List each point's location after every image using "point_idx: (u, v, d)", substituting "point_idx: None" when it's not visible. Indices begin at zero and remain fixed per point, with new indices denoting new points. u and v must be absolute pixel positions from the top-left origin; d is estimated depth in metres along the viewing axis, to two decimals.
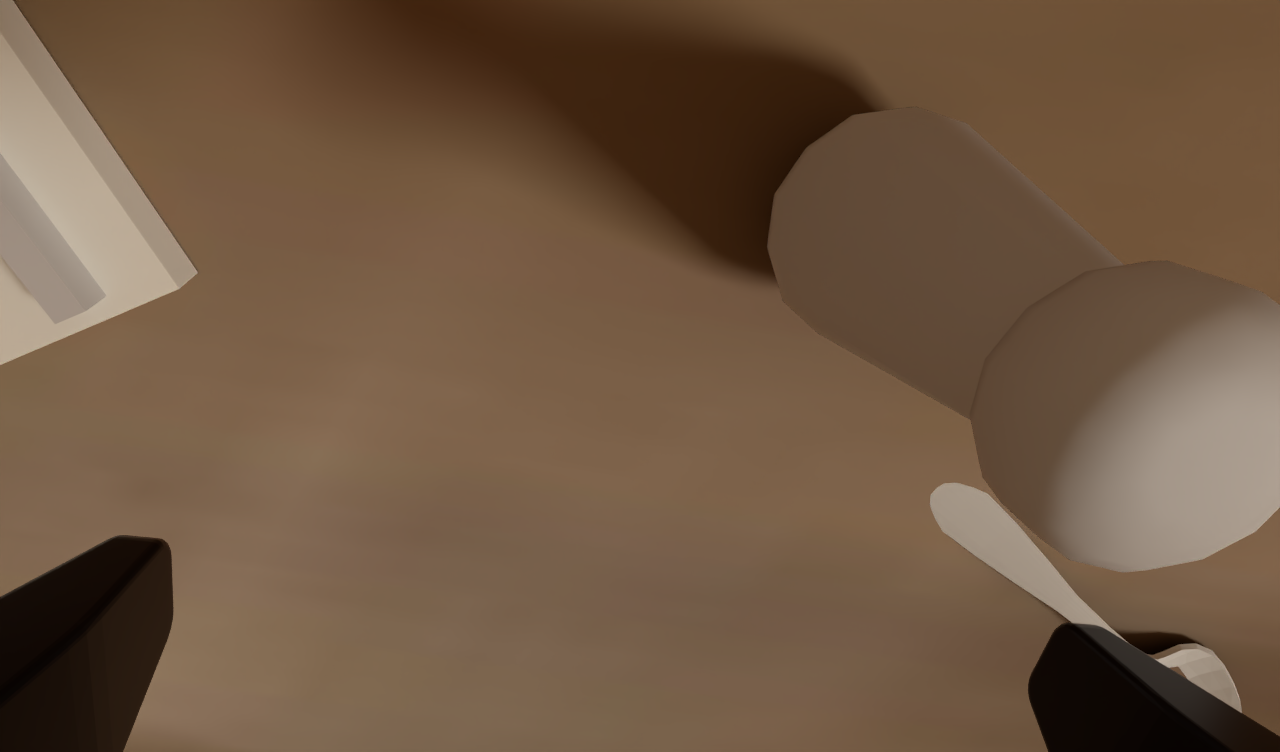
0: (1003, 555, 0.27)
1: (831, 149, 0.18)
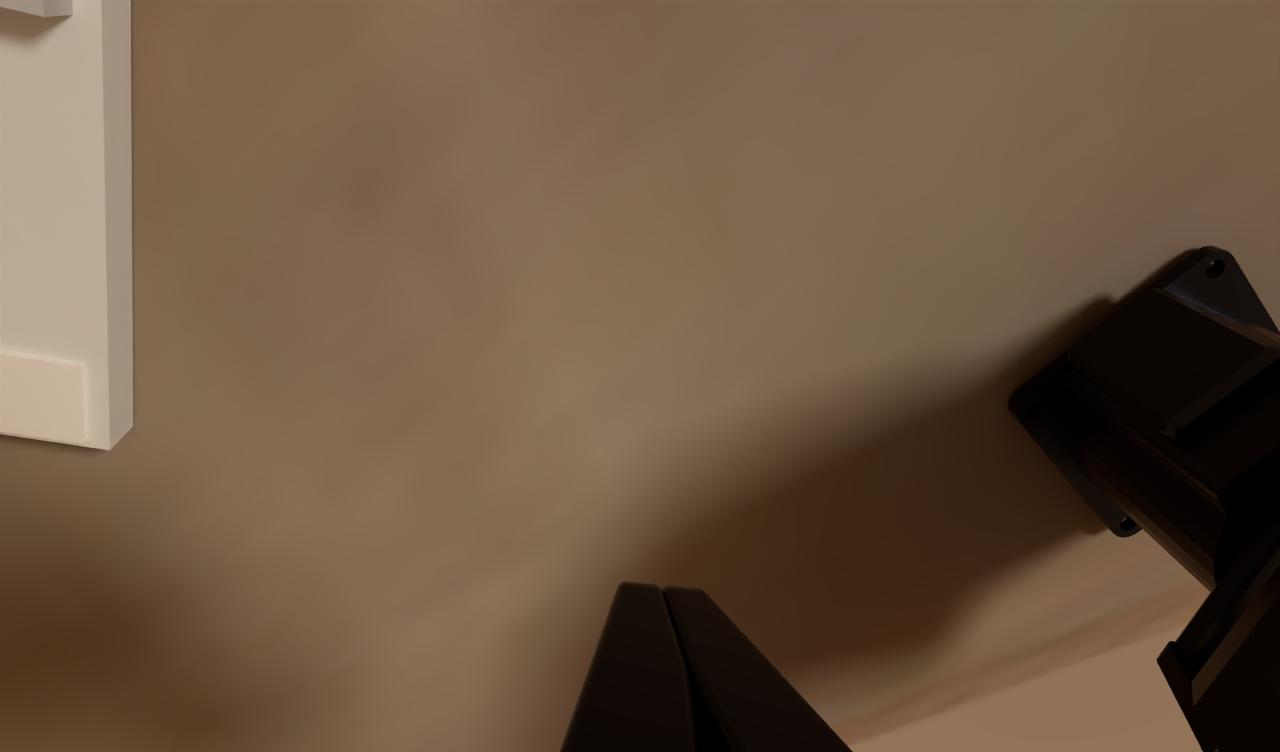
0: None
1: None
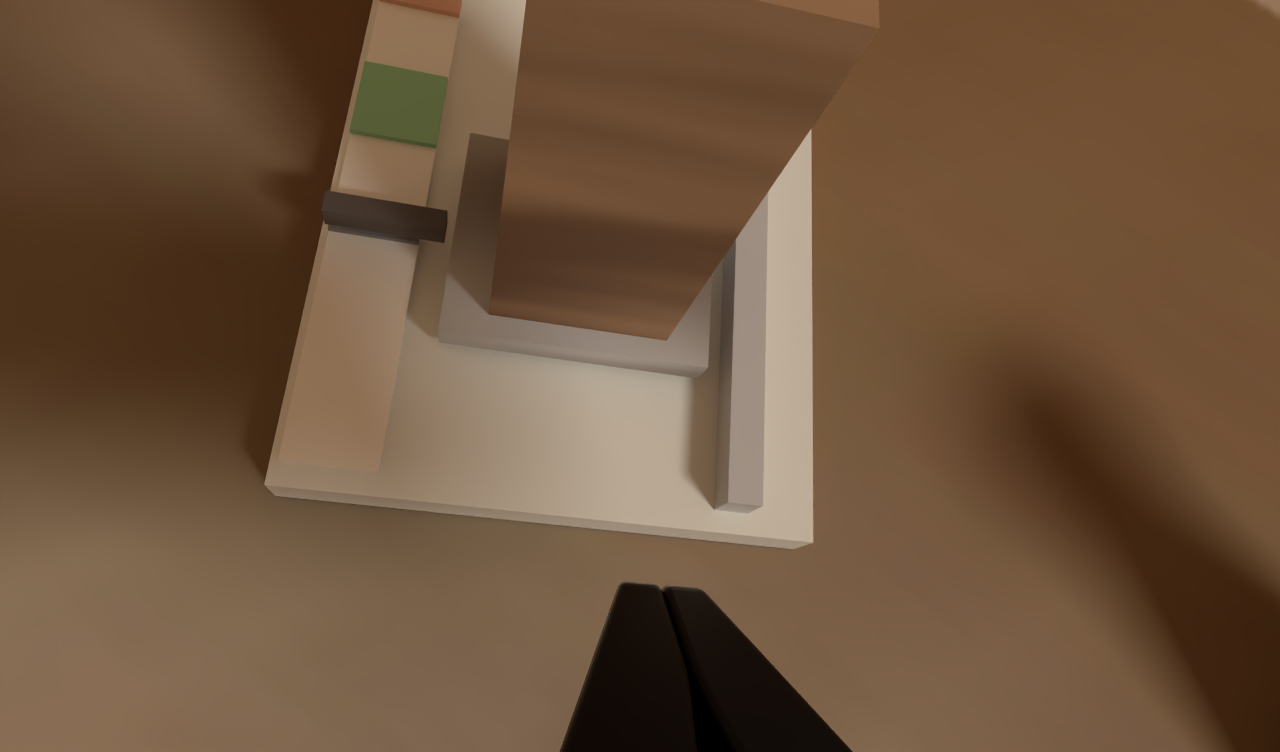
0: None
1: None
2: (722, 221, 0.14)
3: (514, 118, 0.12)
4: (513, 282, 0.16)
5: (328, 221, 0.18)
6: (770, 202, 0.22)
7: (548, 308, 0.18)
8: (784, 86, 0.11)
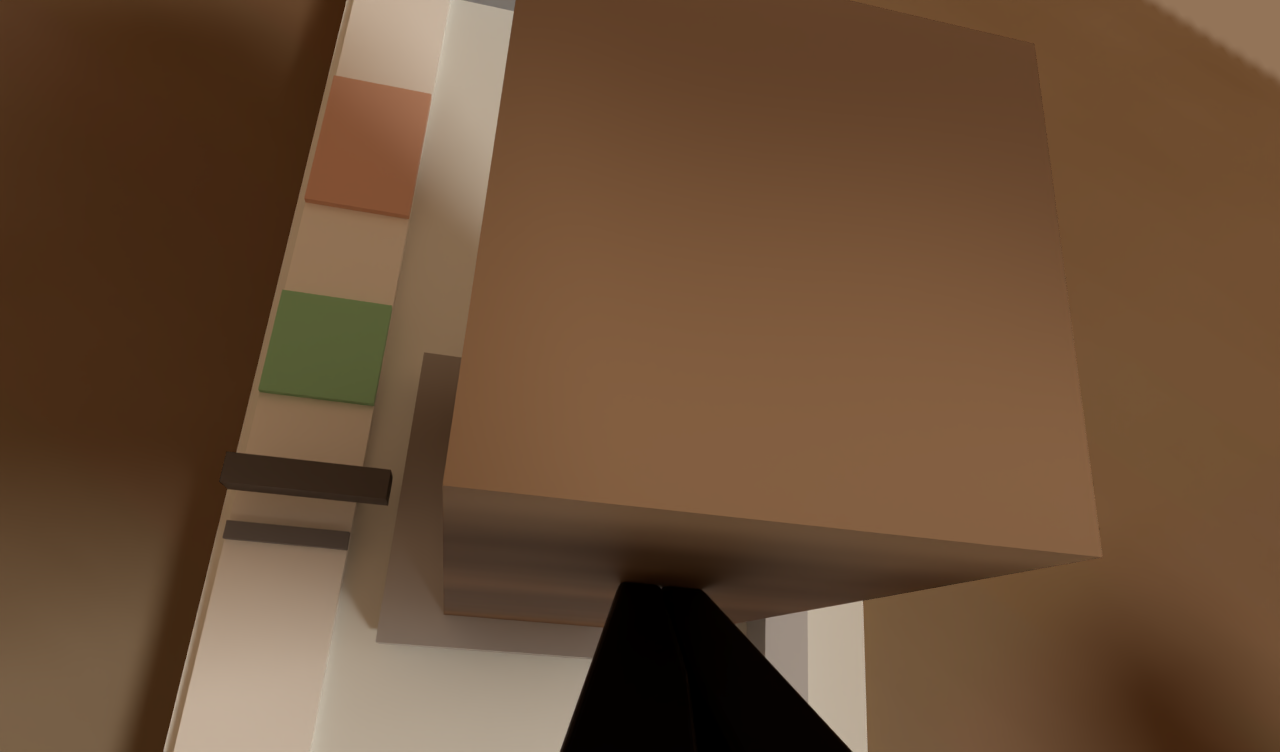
0: None
1: None
2: (769, 608, 0.09)
3: (447, 560, 0.07)
4: (471, 608, 0.12)
5: (233, 486, 0.14)
6: None
7: (523, 617, 0.13)
8: (902, 570, 0.06)
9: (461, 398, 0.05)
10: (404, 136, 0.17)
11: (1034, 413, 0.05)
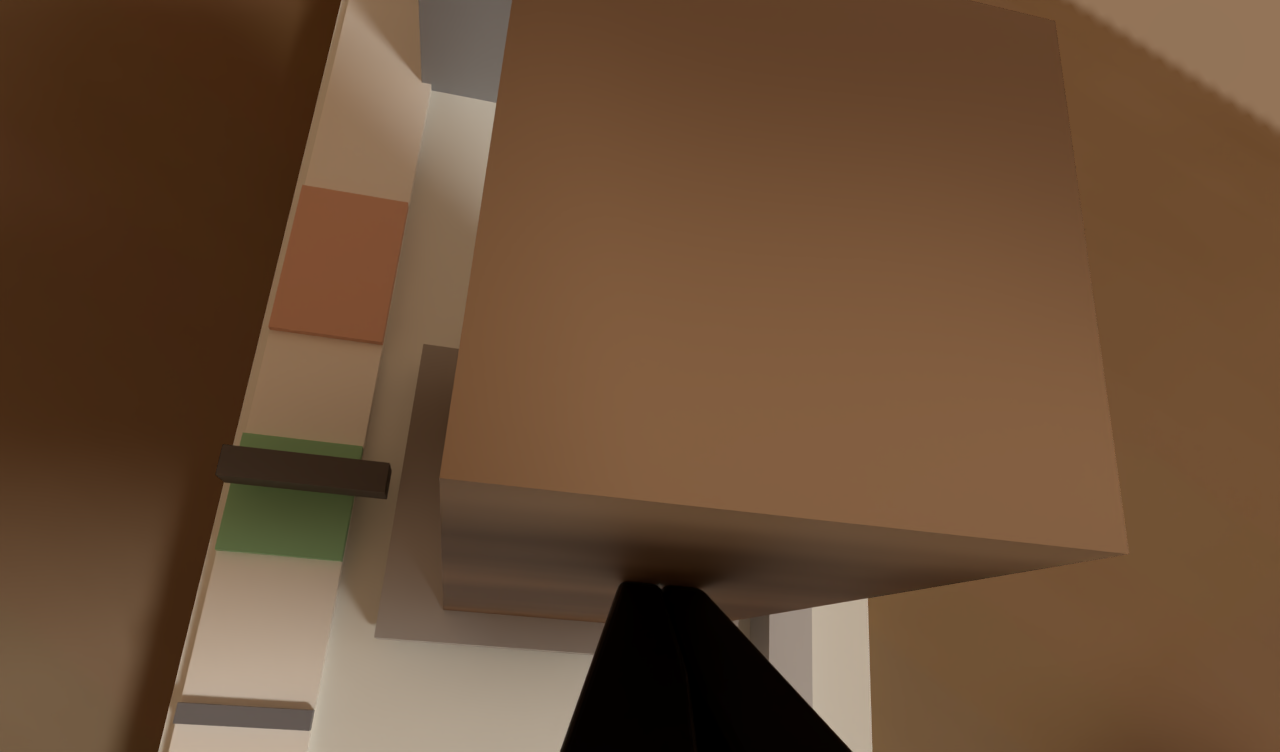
0: None
1: None
2: (776, 604, 0.09)
3: (445, 555, 0.07)
4: (471, 604, 0.12)
5: (229, 479, 0.14)
6: None
7: (523, 612, 0.13)
8: (916, 567, 0.06)
9: (459, 386, 0.04)
10: (378, 251, 0.16)
11: (1057, 404, 0.05)
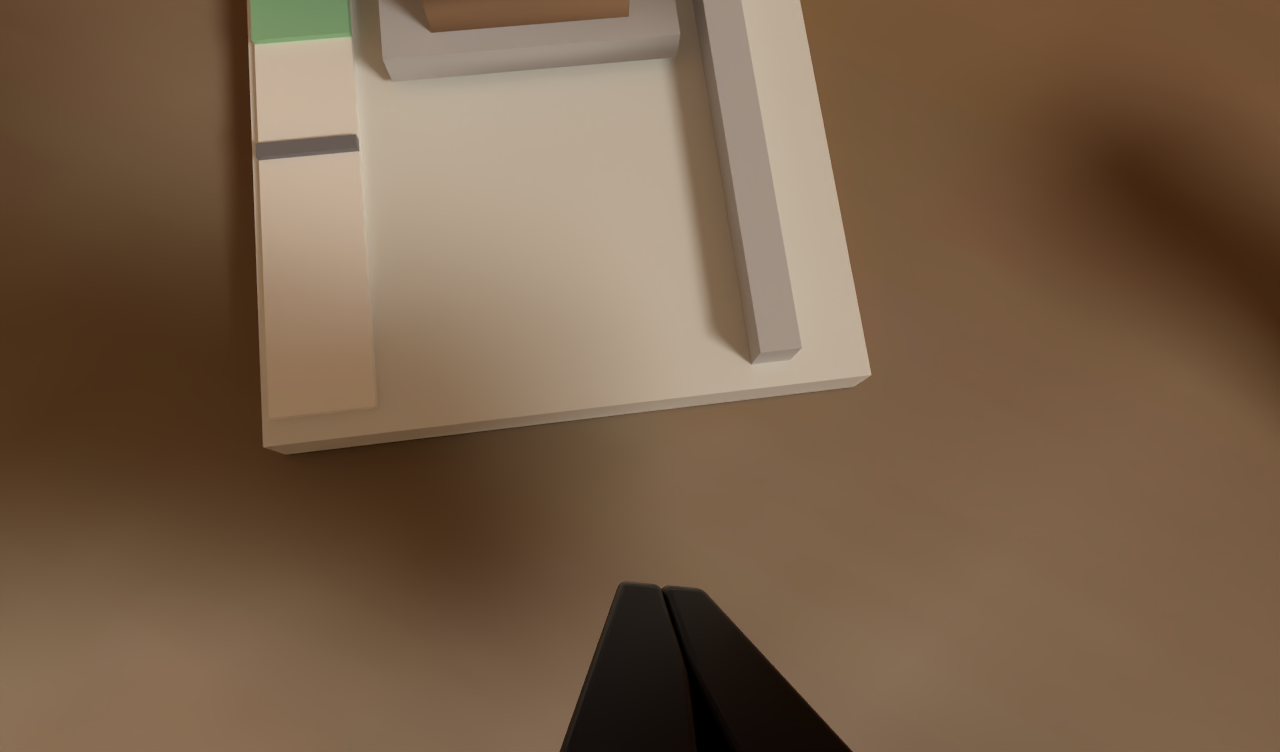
0: None
1: None
2: None
3: None
4: None
5: None
6: None
7: (488, 2, 0.16)
8: None
9: None
10: None
11: None
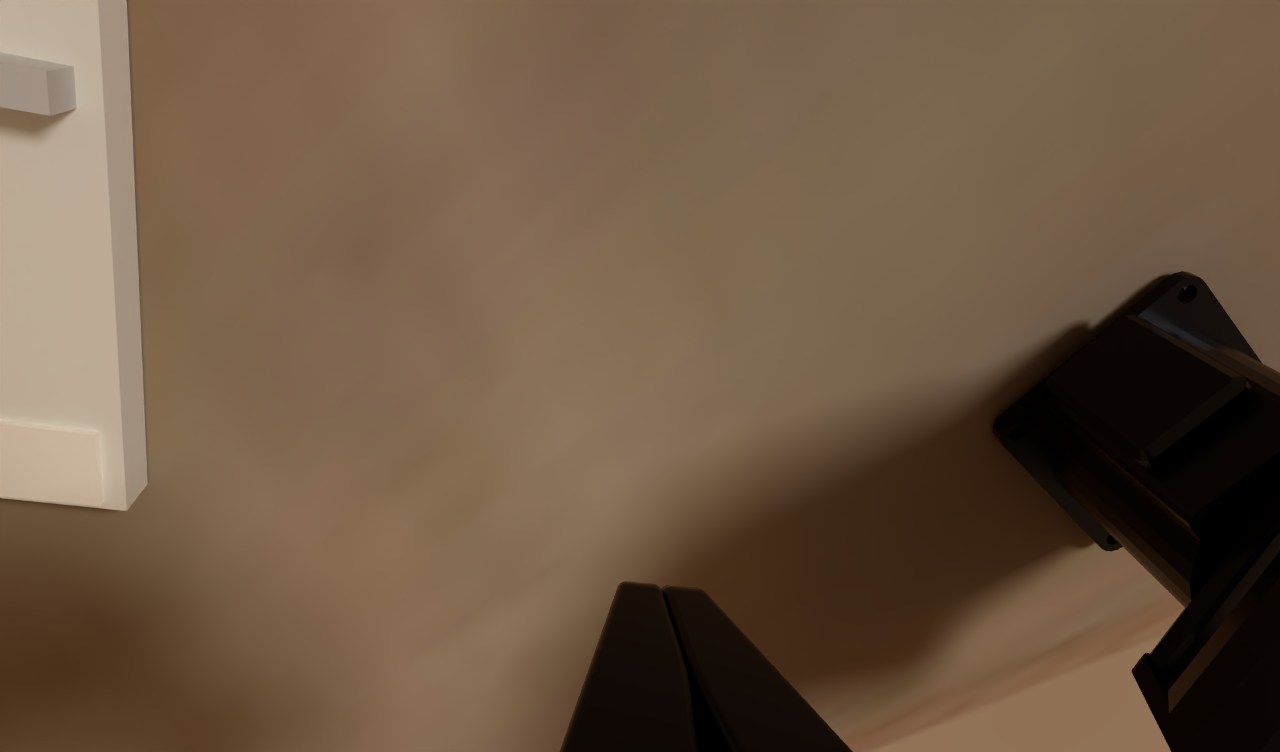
0: None
1: None
2: None
3: None
4: None
5: None
6: None
7: None
8: None
9: None
10: None
11: None
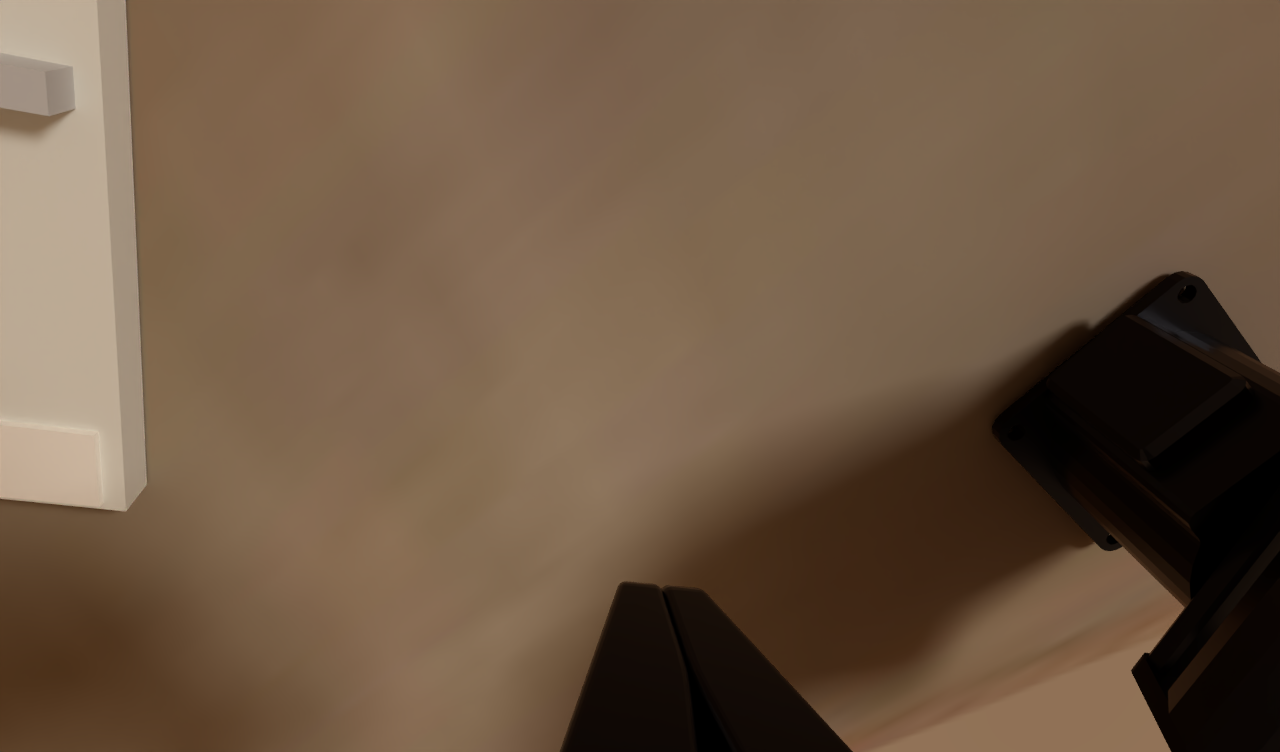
0: None
1: None
2: None
3: None
4: None
5: None
6: None
7: None
8: None
9: None
10: None
11: None
